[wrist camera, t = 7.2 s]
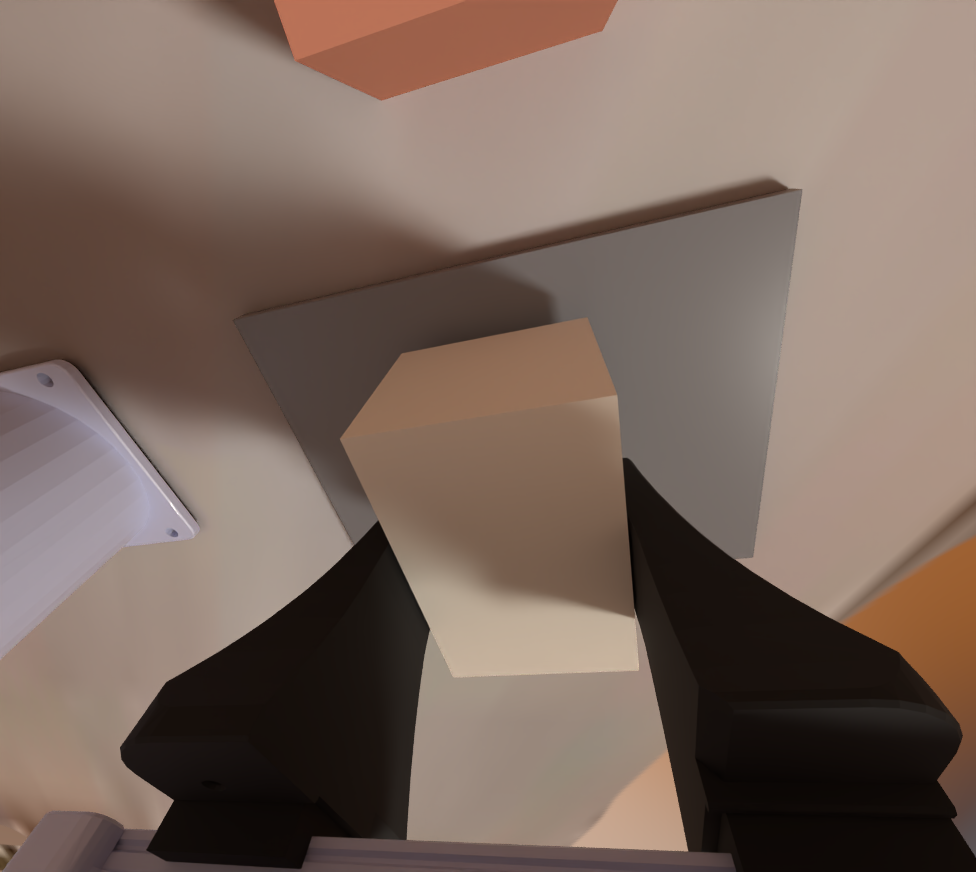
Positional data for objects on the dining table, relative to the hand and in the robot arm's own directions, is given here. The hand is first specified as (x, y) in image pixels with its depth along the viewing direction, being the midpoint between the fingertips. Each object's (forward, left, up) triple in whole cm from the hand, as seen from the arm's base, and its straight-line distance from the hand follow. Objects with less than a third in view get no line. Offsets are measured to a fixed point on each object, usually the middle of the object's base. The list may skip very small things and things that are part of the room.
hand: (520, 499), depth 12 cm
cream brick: (0, 0, -2) cm, 2 cm away
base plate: (0, 0, -3) cm, 3 cm away
